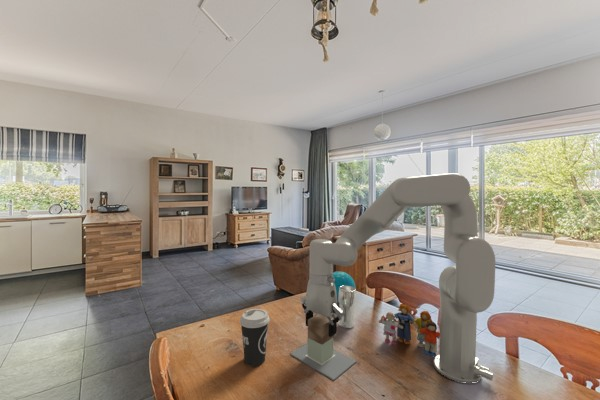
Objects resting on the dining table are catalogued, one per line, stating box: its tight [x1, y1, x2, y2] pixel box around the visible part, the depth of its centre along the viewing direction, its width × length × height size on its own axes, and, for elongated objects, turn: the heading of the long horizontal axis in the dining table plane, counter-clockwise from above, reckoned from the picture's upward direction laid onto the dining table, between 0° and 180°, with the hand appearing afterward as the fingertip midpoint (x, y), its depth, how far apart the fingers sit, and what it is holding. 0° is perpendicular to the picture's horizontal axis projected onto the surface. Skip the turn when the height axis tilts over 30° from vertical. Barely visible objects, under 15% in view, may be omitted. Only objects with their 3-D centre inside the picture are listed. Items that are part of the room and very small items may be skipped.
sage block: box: [307, 337, 334, 364], centre depth 90 cm, size 6×6×6 cm
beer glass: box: [338, 286, 357, 329], centre depth 111 cm, size 7×7×15 cm
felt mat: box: [289, 342, 358, 381], centre depth 90 cm, size 18×12×1 cm, turn 46°
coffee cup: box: [239, 308, 271, 367], centre depth 88 cm, size 10×10×15 cm
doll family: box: [378, 303, 440, 358], centre depth 98 cm, size 21×10×13 cm, turn 60°
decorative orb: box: [333, 270, 356, 305], centre depth 133 cm, size 15×15×15 cm
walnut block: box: [307, 313, 335, 345], centre depth 90 cm, size 6×6×6 cm
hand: (320, 329), depth 90 cm, fingers open, 9 cm apart
